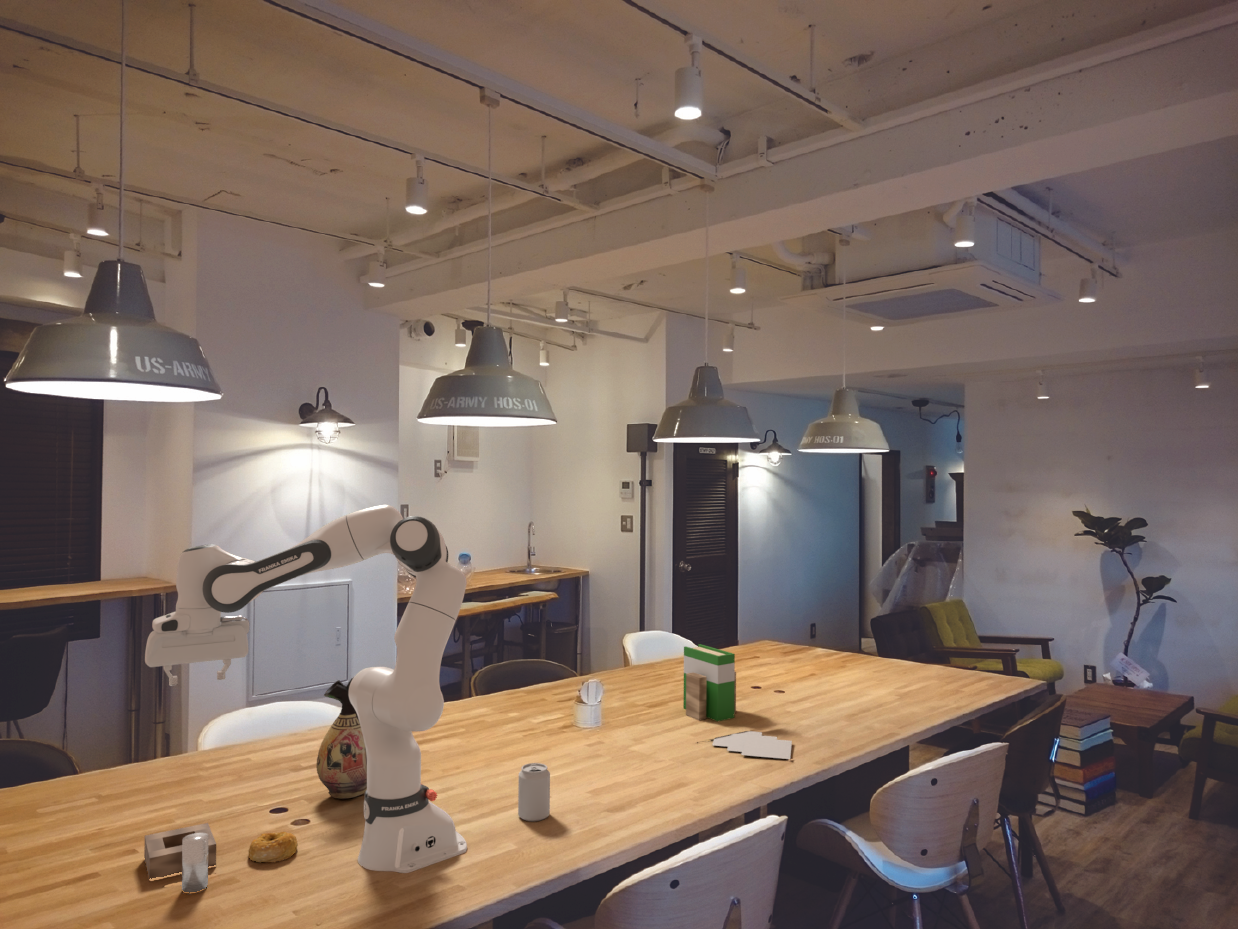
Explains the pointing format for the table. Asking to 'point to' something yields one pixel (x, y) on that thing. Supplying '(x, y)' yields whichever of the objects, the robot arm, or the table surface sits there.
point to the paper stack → (755, 744)
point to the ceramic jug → (343, 750)
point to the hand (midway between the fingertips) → (197, 682)
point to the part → (195, 862)
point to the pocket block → (173, 850)
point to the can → (534, 792)
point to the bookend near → (696, 696)
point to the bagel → (273, 847)
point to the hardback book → (713, 679)
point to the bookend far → (735, 693)
